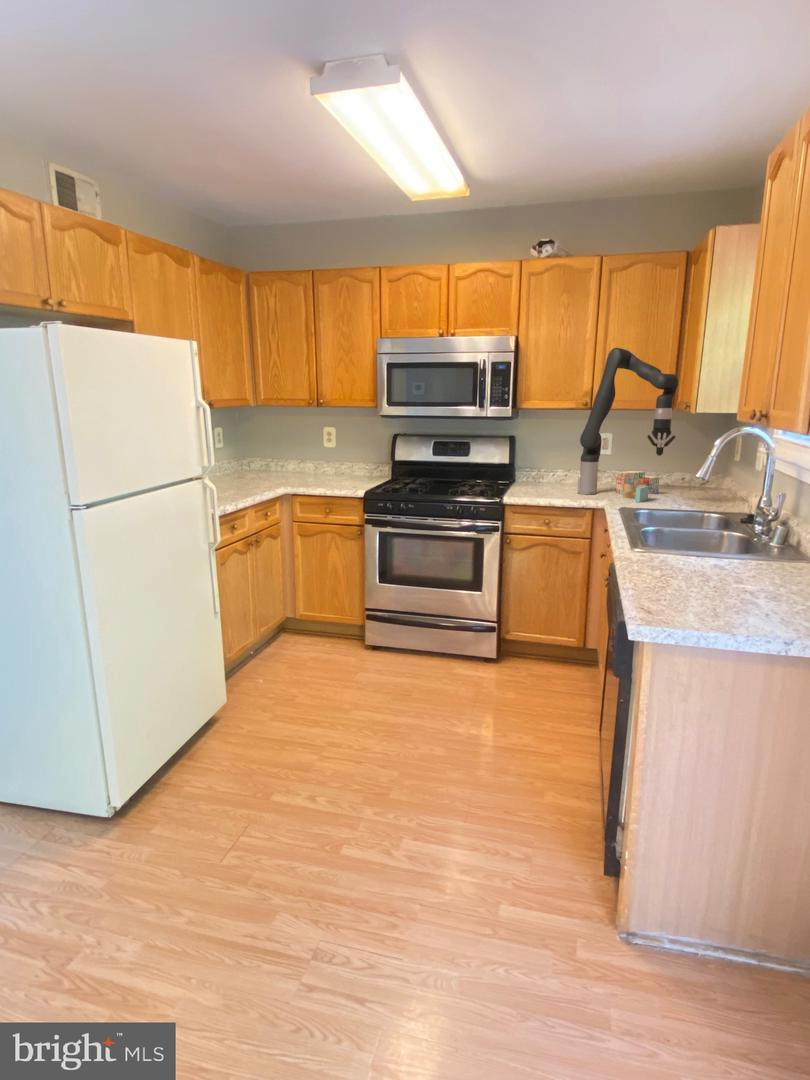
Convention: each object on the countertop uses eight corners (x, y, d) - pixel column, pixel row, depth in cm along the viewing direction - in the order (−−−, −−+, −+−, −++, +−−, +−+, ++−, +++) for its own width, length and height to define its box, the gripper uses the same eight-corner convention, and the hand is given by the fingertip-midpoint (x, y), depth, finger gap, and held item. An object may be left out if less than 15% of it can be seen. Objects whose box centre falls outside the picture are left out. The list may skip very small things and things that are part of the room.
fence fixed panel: (622, 499, 301) (624, 482, 299) (623, 498, 303) (625, 482, 301) (646, 501, 295) (648, 484, 293) (648, 500, 296) (649, 483, 294)
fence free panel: (643, 499, 296) (644, 485, 294) (647, 499, 294) (648, 486, 293) (635, 502, 288) (636, 488, 287) (639, 502, 287) (640, 488, 286)
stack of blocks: (650, 493, 322) (652, 470, 319) (658, 494, 316) (660, 471, 313) (615, 494, 317) (617, 471, 314) (622, 496, 311) (624, 472, 308)
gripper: (676, 417, 281) (672, 454, 285) (646, 417, 284) (643, 454, 288) (679, 418, 274) (675, 456, 278) (649, 418, 277) (645, 455, 281)
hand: (659, 455), depth 283 cm, fingers closed
